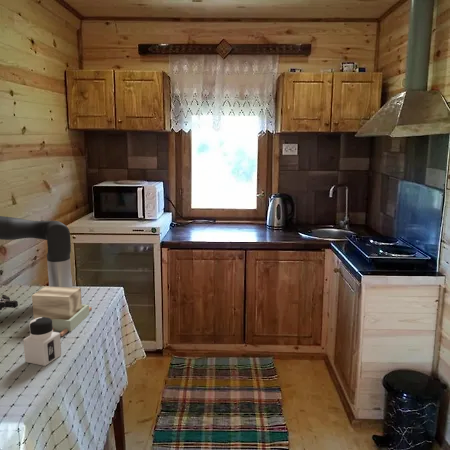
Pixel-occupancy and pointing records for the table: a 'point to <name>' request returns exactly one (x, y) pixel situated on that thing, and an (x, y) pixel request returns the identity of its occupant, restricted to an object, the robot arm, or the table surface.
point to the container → (42, 342)
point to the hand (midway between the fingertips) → (16, 304)
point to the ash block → (57, 302)
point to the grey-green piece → (70, 321)
